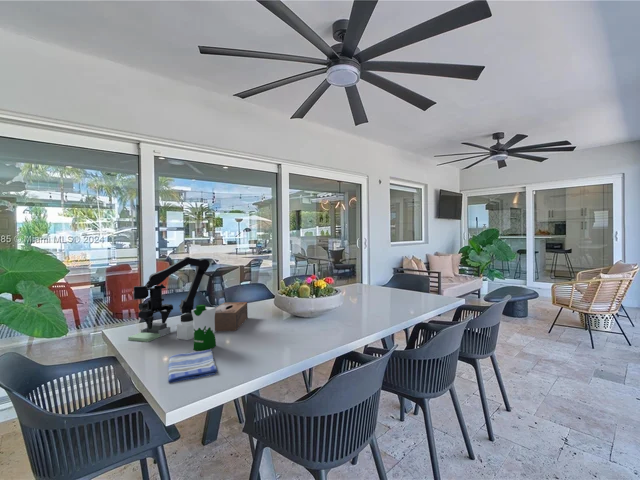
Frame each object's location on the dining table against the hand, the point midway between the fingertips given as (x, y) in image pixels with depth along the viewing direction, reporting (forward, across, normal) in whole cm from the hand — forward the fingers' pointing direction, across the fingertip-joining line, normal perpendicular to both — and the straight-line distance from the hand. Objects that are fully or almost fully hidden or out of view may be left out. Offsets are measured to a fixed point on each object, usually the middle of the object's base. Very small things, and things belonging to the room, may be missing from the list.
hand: (156, 326), depth 170 cm
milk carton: (+4, +14, +39) cm, 41 cm away
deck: (+3, +5, 0) cm, 6 cm away
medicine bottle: (+4, +2, +21) cm, 21 cm away
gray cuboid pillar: (+4, 0, 0) cm, 4 cm away
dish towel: (+4, +32, +47) cm, 57 cm away
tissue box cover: (+4, -24, +29) cm, 38 cm away
